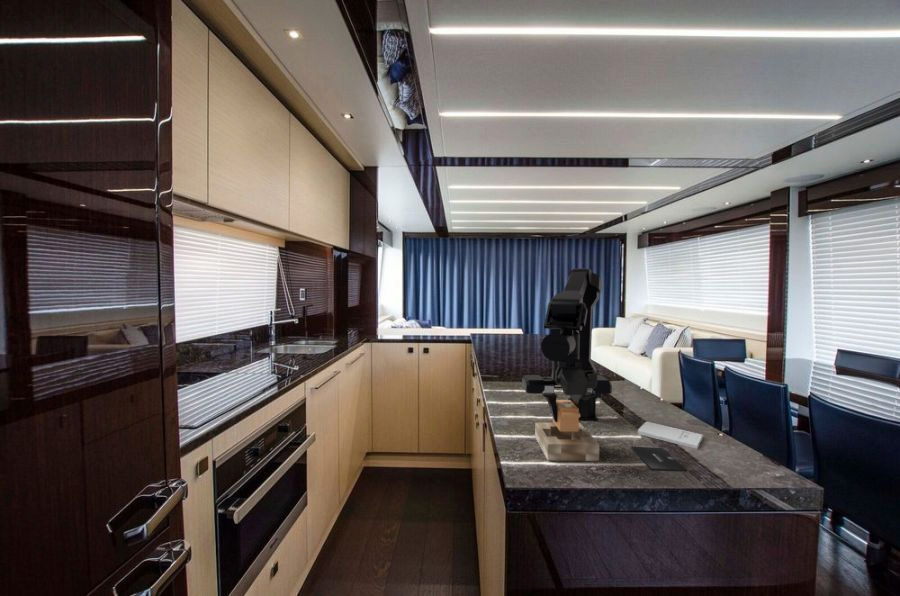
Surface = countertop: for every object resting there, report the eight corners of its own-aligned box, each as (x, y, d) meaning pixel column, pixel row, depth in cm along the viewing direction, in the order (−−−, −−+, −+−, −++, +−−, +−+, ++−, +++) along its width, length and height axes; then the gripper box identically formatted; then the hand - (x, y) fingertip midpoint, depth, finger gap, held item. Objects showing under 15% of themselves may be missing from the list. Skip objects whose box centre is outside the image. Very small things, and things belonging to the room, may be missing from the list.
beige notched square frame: (579, 436, 88) (579, 422, 88) (599, 460, 76) (599, 444, 76) (535, 436, 88) (535, 422, 88) (547, 460, 76) (547, 444, 76)
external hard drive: (646, 426, 96) (703, 440, 88) (637, 436, 90) (697, 451, 82) (646, 420, 96) (703, 433, 88) (637, 429, 90) (697, 444, 81)
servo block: (567, 418, 86) (567, 394, 86) (581, 434, 77) (581, 407, 77) (550, 418, 87) (551, 394, 86) (562, 434, 77) (562, 407, 77)
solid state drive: (662, 450, 82) (662, 447, 82) (687, 473, 72) (687, 470, 72) (630, 449, 82) (630, 446, 82) (651, 471, 72) (651, 468, 72)
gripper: (531, 360, 73) (531, 436, 74) (624, 361, 73) (622, 436, 74) (521, 350, 85) (521, 416, 85) (601, 350, 84) (600, 416, 85)
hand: (565, 421), depth 82 cm, fingers closed on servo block, 4 cm apart
